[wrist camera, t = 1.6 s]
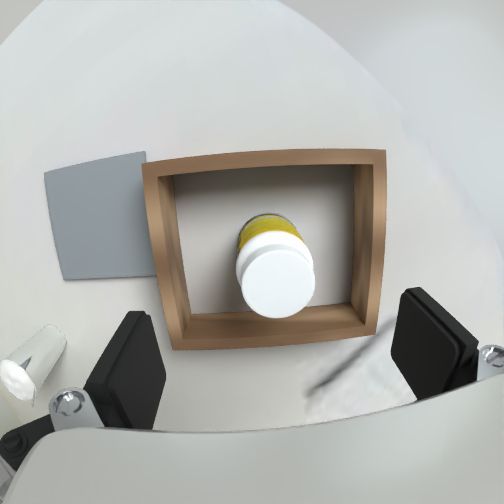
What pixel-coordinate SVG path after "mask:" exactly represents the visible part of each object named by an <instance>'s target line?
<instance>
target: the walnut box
mask: <svg viewBox="0 0 504 504" xmlns="http://www.w3.org/2000/svg"><path fill="white" fill-rule="evenodd" d="M313 164H354V249H353V272H352V289H351V302H350V303H341V304H332V305H322V306H311V307H304V308H303V309H301V310H300V311H299V312H297V313H295V314H293V315H291V316H288V317H284V318H269V317H265V316H262V315H260V314H258V313H256V312H255V311H247V312H230V313H209V314H191V310H190V304H189V299H188V293H187V286H186V280H185V274H184V267H183V260H182V253H181V246H180V239H179V231H178V223H177V215H176V206H175V197H174V188H173V178H172V175H174V174H183V173H192V172H202V171H212V170H223V169H235V168H249V167H265V166H284V165H313ZM141 167H142V177H143V186H144V195H145V203H146V211H147V218H148V225H149V232H150V239H151V245H152V251H153V257H154V263H155V269H156V274H157V280H158V285H159V290H160V295H161V300H162V305H163V310H164V314H165V319H166V323H167V328H168V332H169V336H170V341H171V345H172V349H173V350H215V349H239V348H256V347H271V346H283V345H295V344H305V343H314V342H323V341H332V340H340V339H347V338H355V337H362V336H368V335H375V333H376V327H377V320H378V312H379V304H380V296H381V287H382V277H383V265H384V252H385V235H386V206H387V168H386V150H378V149H287V150H266V151H249V152H235V153H223V154H213V155H203V156H194V157H185V158H177V159H169V160H162V161H155V162H148V163H141Z"/></svg>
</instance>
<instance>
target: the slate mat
mask: <svg viewBox="0 0 504 504" xmlns="http://www.w3.org/2000/svg"><path fill="white" fill-rule="evenodd" d="M141 163H146V152H145V151H142V152H136V153H130V154H125V155H119V156H114V157H109V158H104V159H99V160H94V161H90V162H85V163H81V164H76V165H72V166H68V167H64V168H60V169H56V170H52V171H49V172H45V173H44V177H45V186H46V194H47V201H48V207H49V214H50V219H51V225H52V230H53V236H54V240H55V245H56V250H57V254H58V259H59V263H60V267H61V271H62V275H63V279H64V280H67V279H91V278H113V277H134V276H153V275H157V274H156V269H155V263H154V257H153V251H152V245H151V239H150V232H149V225H148V218H147V211H146V203H145V195H144V186H143V177H142V167H141Z"/></svg>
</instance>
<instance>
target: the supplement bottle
mask: <svg viewBox="0 0 504 504" xmlns="http://www.w3.org/2000/svg"><path fill="white" fill-rule="evenodd" d="M313 269H314V267H313V259H312V256H311V254H310V251H309V249H308V248H307V246H306V244H305V243H304V241H303V240H302V238H301V236H300V235H299V233H298V231H297V230H296V228H295V226H294V225H293V224H292V223H291V222H290V221H289V220H288V219H287V218H285V217H284V216H282V215H279V214H276V213H263V214H259V215H257V216H254V217H253V218H251V219H250V220H249V221H248V222H247V223H246V224H245V225H244V226H243V228H242V230H241V232H240V235H239V239H238V249H237V257H236V275H237V279H238V282H239V284H240V286H241V290H242V295H243V297H244V300H245V301H246V303H247V304H248V306H249V307H250V308H251V309H252V310H253V311H255V312H256V313H258V314H260V315H262V316H265V317H269V318H284V317H288V316H291V315H293V314H295V313H297V312H299V311H300V310H301V309H303V308H304V307H305V306H306V305H307V304H308V302H309V301H310V299H311V297H312V295H313V293H314V289H315V276H314V272H313Z"/></svg>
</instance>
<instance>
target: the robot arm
mask: <svg viewBox="0 0 504 504" xmlns="http://www.w3.org/2000/svg"><path fill="white" fill-rule="evenodd" d="M478 343H479V341H478V340H477V339H476V338H475V337H474V336H473V335H472V334H471V333H470V332H469V331H468V330H467V329H465V328H464V327H463V326H462V325H461V324H460V323H459V322H458V321H457V320H456V319H455V318H454V317H453V316H452V315H451V314H450V313H449V312H447V311H446V310H445V309H444V308H443V307H442V306H441V305H440V304H439V303H438V302H437V301H435V300H434V299H433V298H432V297H431V296H430V295H429V294H428V293H426V292H425V291H424V290H423V289H422V288H420V287H415V288H409V289H406V290H405V292H404V293H402V295H401V298H400V304H399V310H398V316H397V322H396V327H395V332H394V337H393V342H392V347H391V357H392V359H393V361H394V362H395V364H396V365H397V367H398V369H399V370H400V372H401V373H402V375H403V376H404V378H405V380H406V381H407V383H408V385H409V386H410V388H411V389H412V391H413V393H414V394H415V396H416V398H417V399H418V401H416V402H412V403H409V404H405V405H402V406H398V407H394V408H390V409H386V410H382V411H378V412H373V413H369V414H364V415H360V416H355V417H350V418H345V419H339V420H333V421H327V422H321V423H315V424H308V425H300V426H292V427H282V428H272V429H260V430H244V431H216V432H192V431H161V430H152V428H153V424H154V421H155V417H156V413H157V410H158V406H159V402H160V399H161V395H162V392H163V388H164V385H165V381H166V371H165V367H164V364H163V361H162V357H161V354H160V350H159V347H158V343H157V339H156V336H155V332H154V328H153V324H152V320H151V317H150V315H146V313H145V312H144V311H129V312H128V313H127V315H126V316H125V318H124V319H123V321H122V322H121V324H120V326H119V327H118V329H117V330H116V332H115V334H114V335H113V337H112V339H111V340H110V342H109V344H108V345H107V347H106V349H105V350H104V352H103V354H102V355H101V357H100V359H99V360H98V362H97V364H96V365H95V367H94V369H93V371H92V372H91V374H90V376H89V378H88V379H87V381H86V384H85V386H84V388H83V389H81V388H76V387H74V388H67V389H63V390H61V391H59V392H58V393H57V394H55V395H54V396H53V398H52V399H51V400H50V403H49V412H50V414H48V415H46V416H44V417H41V418H39V419H37V420H34V421H32V422H30V423H27V424H25V425H23V426H21V427H18V428H16V429H13V430H11V431H9V432H7V433H6V434H5V435H4V436H3V437H2V438H1V440H0V504H504V348H503V347H501V346H497V345H486V346H484V347H482V348H481V349H480V351H479V350H478V349H477V346H478Z"/></svg>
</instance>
